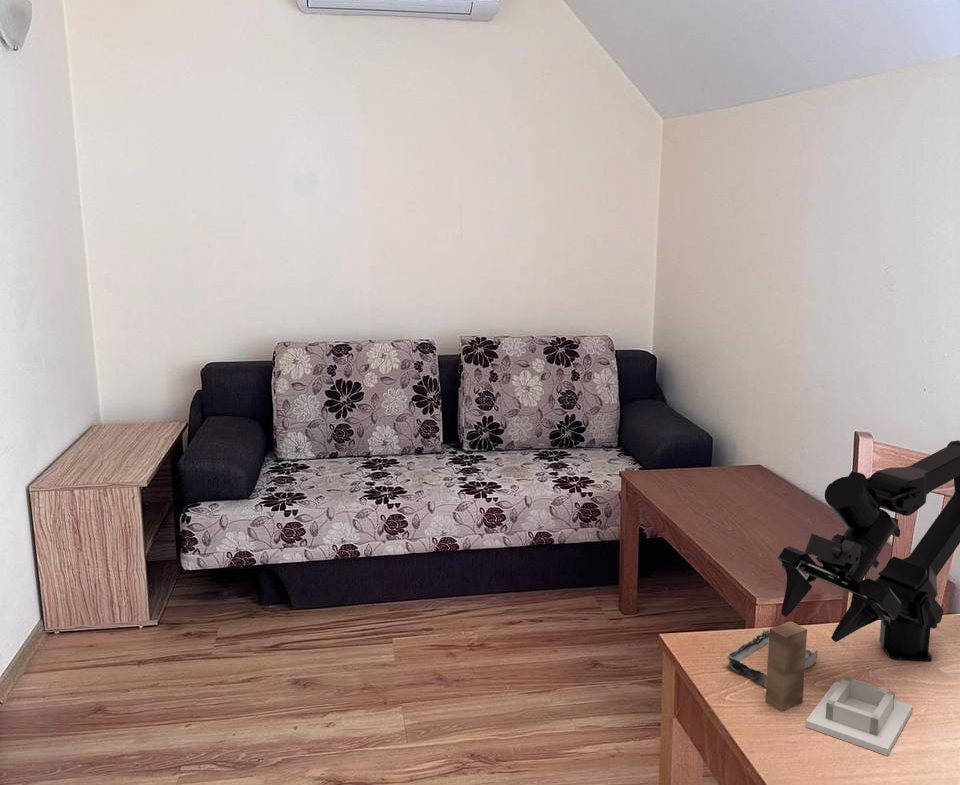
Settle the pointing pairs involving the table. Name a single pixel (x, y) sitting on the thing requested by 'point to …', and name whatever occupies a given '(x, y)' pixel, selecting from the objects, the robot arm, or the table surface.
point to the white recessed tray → (860, 715)
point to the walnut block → (786, 666)
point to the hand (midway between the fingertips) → (807, 627)
